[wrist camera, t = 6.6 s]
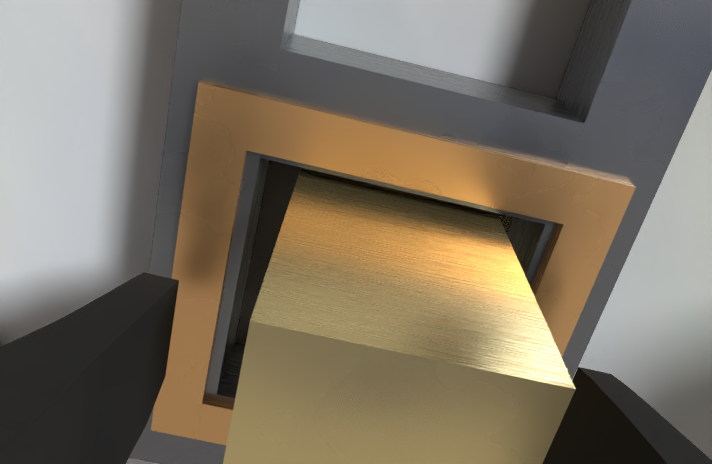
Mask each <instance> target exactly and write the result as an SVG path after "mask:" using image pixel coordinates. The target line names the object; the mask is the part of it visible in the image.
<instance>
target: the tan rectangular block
mask: <svg viewBox="0 0 712 464" xmlns="http://www.w3.org/2000/svg"><path fill="white" fill-rule="evenodd" d="M575 390H576V389H575V386H574V384H573V382H572V380H571V377H570V375H569V373H568V371H567V368H566V366H565V364H564V362H563V359H562V357H561V355H560V353H559V350H558V348H557V346H556V344H555V342H554V339H553V337H552V335H551V333H550V330H549V328H548V326H547V324H546V321H545V319H544V317H543V315H542V312H541V310H540V308H539V306H538V303H537V301H536V299H535V297H534V294H533V292H532V290H531V288H530V286H529V283H528V281H527V279H526V277H525V274H524V272H523V270H522V268H521V265H520V263H519V261H518V259H517V256H516V254H515V252H514V250H513V247H512V245H511V243H510V241H509V238H508V236H507V234H506V232H505V229H504V227H503V225H502V223H501V221H500V218H499V216H498V214H497V213H495V212H491V211H486V210H482V209H478V208H473V207H469V206H465V205H460V204H456V203H452V202H448V201H443V200H439V199H435V198H430V197H426V196H422V195H417V194H413V193H409V192H405V191H400V190H396V189H392V188H387V187H383V186H379V185H374V184H370V183H366V182H362V181H357V180H353V179H349V178H344V177H340V176H336V175H331V174H327V173H323V172H319V171H314V170H310V169H306V168H301V169H300V172H299V175H298V178H297V181H296V184H295V187H294V190H293V193H292V196H291V199H290V202H289V205H288V208H287V211H286V214H285V217H284V220H283V223H282V226H281V229H280V232H279V235H278V238H277V241H276V244H275V247H274V250H273V253H272V256H271V259H270V262H269V265H268V268H267V271H266V274H265V277H264V280H263V283H262V286H261V289H260V292H259V295H258V298H257V301H256V304H255V307H254V310H253V313H252V316H251V319H250V323H249V328H248V334H247V339H246V344H245V350H244V355H243V360H242V366H241V371H240V376H239V381H238V387H237V392H236V397H235V403H234V408H233V413H232V418H231V424H230V429H229V434H228V440H227V445H226V450H225V455H224V461H223V464H542V463H543V461H544V459H545V457H546V454H547V452H548V450H549V448H550V445H551V443H552V441H553V439H554V437H555V434H556V432H557V430H558V428H559V425H560V423H561V421H562V419H563V417H564V414H565V412H566V410H567V408H568V405H569V403H570V401H571V399H572V396H573V394H574V392H575Z"/></svg>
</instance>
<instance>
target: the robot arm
mask: <svg viewBox="0 0 712 464" xmlns="http://www.w3.org/2000/svg"><path fill="white" fill-rule="evenodd" d="M178 285H179V280H176V279H171V278H167V277H162V276H158V275H153V274H148V273H142V274H140V275H138V276H136V277H135V278H133V279H131V280H129V281H128V282H126V283H124V284H122V285H121V286H119V287H117V288H115V289H114V290H112V291H110V292H108V293H107V294H105V295H103V296H101V297H100V298H98V299H96V300H94V301H93V302H91V303H89V304H87V305H85V306H84V307H82V308H80V309H78V310H76V311H74V312H73V313H71V314H69V315H67V316H65V317H63V318H61V319H59V320H57V321H55V322H53V323H51V324H49V325H47V326H45V327H43V328H41V329H38V330H36V331H34V332H32V333H30V334H28V335H26V336H24V337H22V338H20V339H18V340H16V341H13V342H11V343H9V344H7V345H4V346H2V347H0V464H126V462H127V460H128V458H129V456H130V454H131V453H132V451H133V449H134V447H135V445H136V443H137V442H138V440H139V438H140V436H141V434H142V432H143V430H144V428H145V427H146V424H147V422H148V419H149V417H150V414H151V412H152V410H153V407H154V405H155V402H156V399H157V397H158V394H159V392H160V389H161V387H162V384H163V381H164V379H165V376H166V369H167V362H168V355H169V348H170V341H171V334H172V327H173V320H174V313H175V306H176V299H177V292H178ZM572 382H573V384H574V386H575V389H576V390H575V392H574V394H573V396H572V399H571V401H570V403H569V405H568V408H567V410H566V412H565V414H564V417H563V419H562V421H561V423H560V425H559V428H558V430H557V432H556V434H555V437H554V439H553V441H552V443H551V445H550V448H549V450H548V452H547V454H546V457H545V459H544V461H543V463H542V464H712V460H711V459H710V458H708V457H707V456H706V455H705V454H704V453H703V452H702V451H700V450H699V449H698V448H697V447H696V446H695V445H694V444H692V443H691V442H690V441H689V440H688V439H687V438H686V437H685V436H683V435H682V434H681V433H680V432H679V431H678V430H677V429H676V428H674V427H673V426H672V425H671V424H670V423H669V422H668V421H667V420H665V419H664V418H663V417H662V416H661V415H660V414H659V413H658V412H656V411H655V410H654V409H653V408H652V407H651V406H650V405H649V404H647V403H646V402H645V401H644V400H643V399H642V398H640V397H639V396H638V395H637V394H636V393H635V392H633V391H632V390H631V389H630V388H629V387H627V386H626V385H625V384H624V383H622V382H621V381H620V380H618V379H617V378H615V377H614V376H613V375H611V374H608V373H603V372H598V371H594V370H589V369H585V368H580V367H578V369H577V371H576V374H575V376H574V378H573V380H572Z"/></svg>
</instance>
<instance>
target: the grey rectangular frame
mask: <svg viewBox="0 0 712 464" xmlns="http://www.w3.org/2000/svg"><path fill="white" fill-rule="evenodd" d="M299 2H300V0H182V3H181V11H180V19H179V28H178V36H177V44H176V53H175V61H174V69H173V77H172V86H171V94H170V102H169V110H168V119H167V127H166V135H165V143H164V152H163V160H162V168H161V177H160V185H159V193H158V201H157V210H156V218H155V226H154V234H153V243H152V251H151V259H150V267H149V274H153V275H158V276H162V277H167V278H171V279H176V280H179V285H178V292H177V299H176V306H175V313H174V320H173V327H172V334H171V341H170V348H169V355H168V362H167V369H166V376H165V379H164V381H163V384H162V387H161V389H160V392H159V394H158V397H157V399H156V402H155V405H154V407H153V410H152V412H151V414H150V417H149V419H148V422H147V424H146V427H145V428H144V430H143V432H142V434H141V436H140V438H139V440H138V442H137V443H136V445H135V447H134V449H133V451H132V453H131V454H130V456H129V458H135V459H140V460H145V461H150V462H155V463H160V464H223V461H224V455H225V450H226V445H227V440H228V434H229V429H230V424H231V418H232V413H233V408H234V403H235V397H236V392H237V387H238V381H239V376H240V371H241V366H242V360H243V355H244V350H245V345H240V344H235V339H236V333H237V328H238V323H239V318H240V312H241V307H242V302H243V296H244V291H245V286H246V281H247V275H248V270H249V265H250V260H251V254H252V249H253V244H254V239H255V233H256V228H257V223H258V218H259V212H260V207H261V202H262V197H263V191H264V186H265V181H266V176H267V170H268V165H269V160H271V161H276V162H280V163H284V164H288V165H293V166H297V167H301V168H306V169H310V170H314V171H319V172H323V173H327V174H331V175H336V176H340V177H344V178H349V179H353V180H357V181H362V182H366V183H370V184H374V185H379V186H383V187H387V188H392V189H396V190H400V191H405V192H409V193H413V194H417V195H422V196H426V197H430V198H435V199H439V200H443V201H448V202H452V203H456V204H460V205H465V206H469V207H473V208H478V209H482V210H486V211H491V212H495V213H499V214H503V215H508V216H512V217H513V219H512V222H511V225H510V228H509V230H508V233H507V236H508V238H509V241H510V243H511V245H512V247H513V250H514V252H515V254H516V256H517V259H518V261H519V263H520V265H521V268H522V270H523V272H524V274H525V277H526V279H527V281H528V283H529V286H530V288H531V290H532V292H533V294H534V297H535V299H536V301H537V303H538V306H539V308H540V310H541V312H542V315H543V317H544V319H545V321H546V324H547V326H548V328H549V330H550V333H551V335H552V337H553V339H554V342H555V344H556V346H557V348H558V350H559V353H560V355H561V357H562V359H563V362H564V364H565V366H566V368H567V371H568V373H569V375H570V377H571V380H572V379H573V376H574V374H575V372H576V370H577V367H578V365H579V363H580V361H581V359H582V356H583V354H584V352H585V350H586V347H587V345H588V343H589V341H590V339H591V336H592V334H593V332H594V330H595V327H596V325H597V323H598V321H599V319H600V316H601V314H602V312H603V310H604V308H605V305H606V303H607V301H608V299H609V296H610V294H611V292H612V290H613V288H614V285H615V283H616V281H617V279H618V276H619V274H620V272H621V270H622V268H623V265H624V263H625V261H626V259H627V256H628V254H629V252H630V250H631V248H632V245H633V243H634V241H635V239H636V236H637V234H638V232H639V230H640V228H641V225H642V223H643V221H644V219H645V217H646V214H647V212H648V210H649V208H650V205H651V203H652V201H653V199H654V197H655V194H656V192H657V190H658V188H659V185H660V183H661V181H662V179H663V177H664V174H665V172H666V170H667V168H668V165H669V163H670V161H671V159H672V157H673V154H674V152H675V150H676V148H677V145H678V143H679V141H680V139H681V137H682V134H683V132H684V130H685V128H686V125H687V123H688V121H689V119H690V117H691V114H692V112H693V110H694V108H695V106H696V103H697V101H698V99H699V97H700V94H701V92H702V90H703V88H704V86H705V83H706V81H707V79H708V77H709V74H710V72H711V70H712V0H592V1H591V4H590V6H589V9H588V12H587V15H586V17H585V20H584V23H583V26H582V29H581V31H580V34H579V37H578V40H577V42H576V45H575V48H574V51H573V53H572V56H571V59H570V62H569V64H568V67H567V70H566V73H565V76H564V78H563V81H562V84H561V87H560V89H559V92H558V95H557V98H556V99H553V98H549V97H545V96H541V95H537V94H533V93H529V92H525V91H521V90H517V89H513V88H509V87H505V86H501V85H497V84H493V83H489V82H485V81H480V80H476V79H472V78H468V77H464V76H460V75H456V74H452V73H448V72H444V71H440V70H436V69H432V68H428V67H424V66H420V65H416V64H412V63H407V62H403V61H399V60H395V59H391V58H387V57H383V56H379V55H375V54H371V53H367V52H363V51H359V50H355V49H351V48H347V47H343V46H339V45H334V44H330V43H326V42H322V41H318V40H314V39H310V38H306V37H302V36H298V35H294V29H295V23H296V18H297V13H298V7H299Z"/></svg>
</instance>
